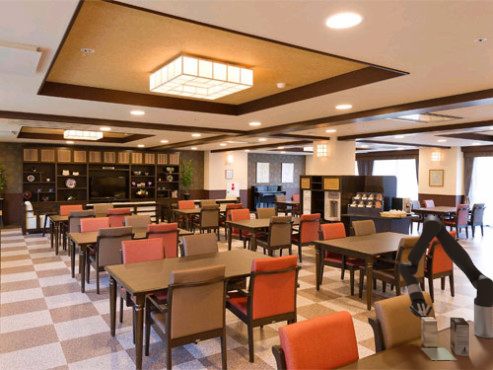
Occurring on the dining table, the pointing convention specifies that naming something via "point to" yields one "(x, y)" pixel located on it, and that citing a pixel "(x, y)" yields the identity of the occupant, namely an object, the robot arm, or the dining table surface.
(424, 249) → the robot arm
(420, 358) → the dining table surface
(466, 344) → the coffee box
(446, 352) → the mat
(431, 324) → the maple block
